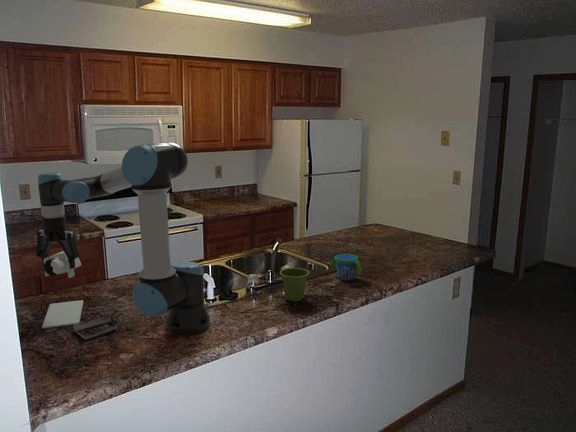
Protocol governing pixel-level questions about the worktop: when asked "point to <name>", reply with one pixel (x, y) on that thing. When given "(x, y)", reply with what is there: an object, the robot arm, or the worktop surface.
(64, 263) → the medicine bottle
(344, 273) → the snack cup
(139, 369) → the worktop surface
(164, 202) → the robot arm
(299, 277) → the plant pot
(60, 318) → the rubber mat
